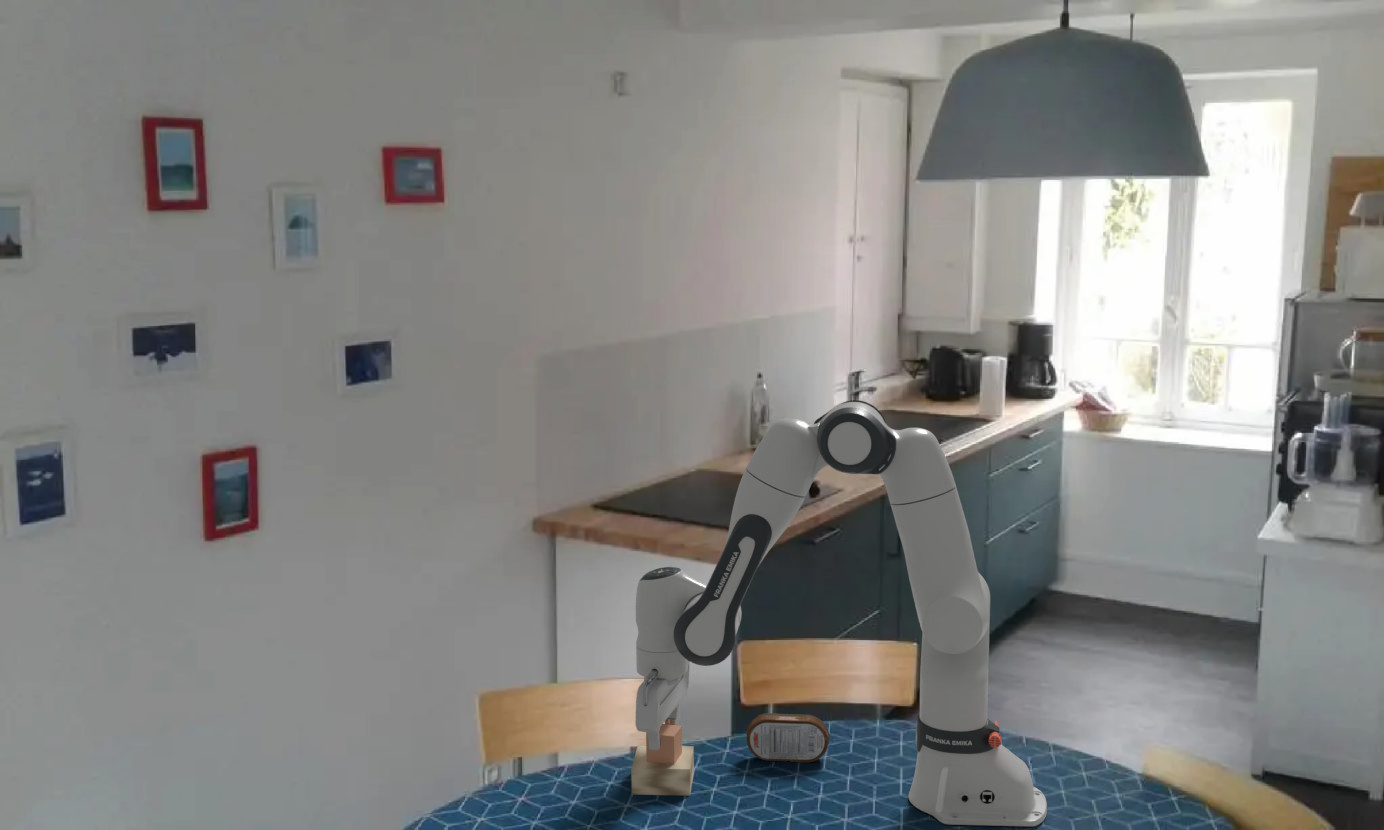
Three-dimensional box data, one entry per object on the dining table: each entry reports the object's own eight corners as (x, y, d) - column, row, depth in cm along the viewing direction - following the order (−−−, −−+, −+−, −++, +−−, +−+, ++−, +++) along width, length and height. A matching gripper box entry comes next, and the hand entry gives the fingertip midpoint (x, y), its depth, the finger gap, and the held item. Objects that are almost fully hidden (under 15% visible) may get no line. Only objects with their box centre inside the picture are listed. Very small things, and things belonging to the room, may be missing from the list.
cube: (682, 753, 222) (681, 725, 221) (674, 764, 217) (674, 736, 216) (654, 750, 223) (654, 723, 222) (646, 761, 218) (646, 733, 218)
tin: (829, 757, 231) (829, 713, 230) (829, 764, 228) (829, 720, 227) (746, 755, 232) (746, 711, 231) (745, 762, 229) (745, 717, 228)
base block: (694, 773, 225) (693, 746, 225) (690, 797, 216) (689, 769, 215) (638, 772, 226) (637, 745, 225) (631, 796, 216) (631, 768, 216)
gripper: (662, 682, 207) (663, 763, 209) (695, 644, 227) (696, 718, 228) (625, 679, 209) (626, 759, 211) (661, 642, 228) (662, 715, 230)
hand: (663, 738), depth 220 cm, fingers open, 8 cm apart
